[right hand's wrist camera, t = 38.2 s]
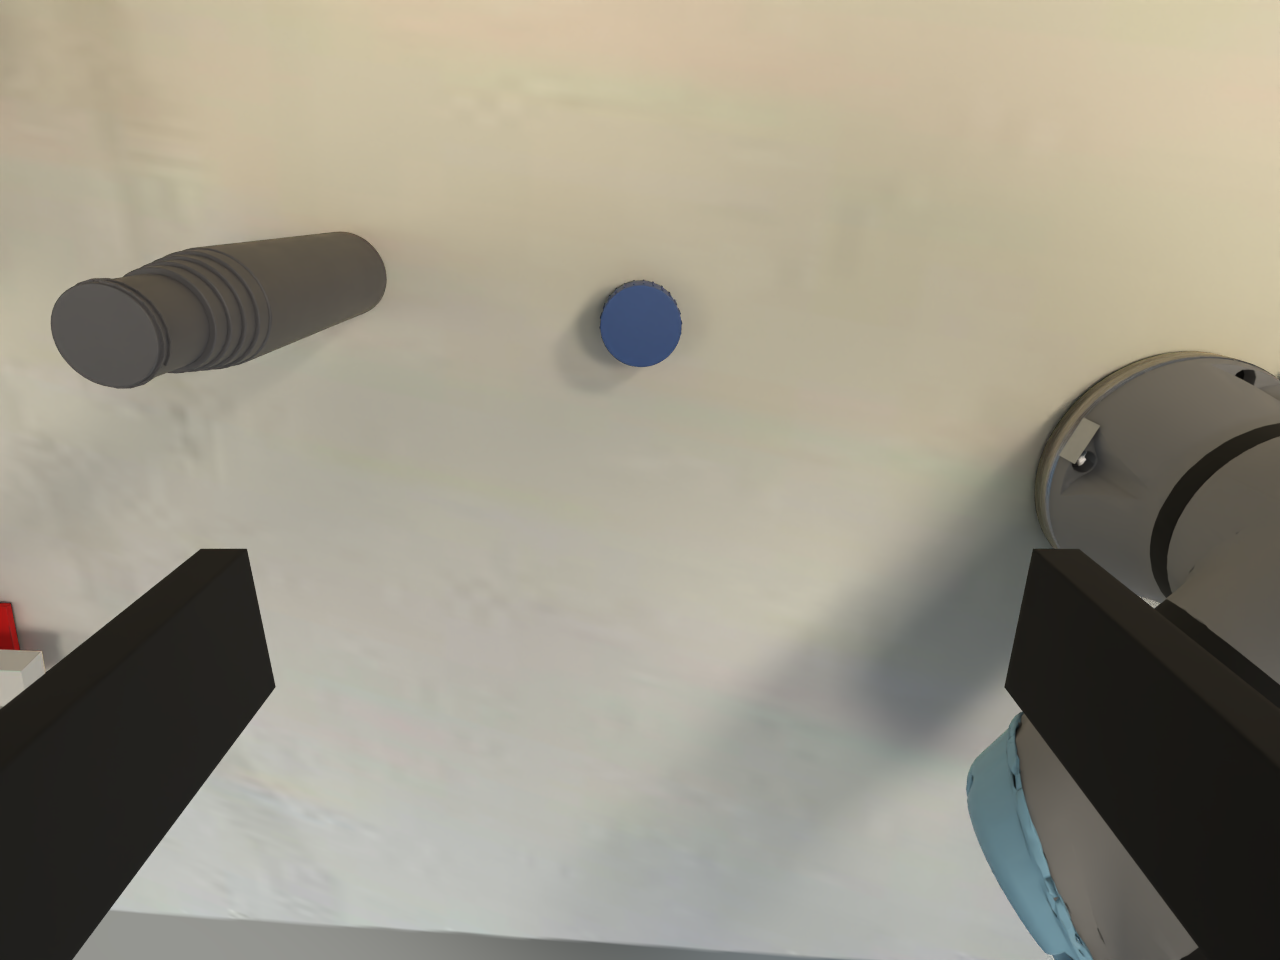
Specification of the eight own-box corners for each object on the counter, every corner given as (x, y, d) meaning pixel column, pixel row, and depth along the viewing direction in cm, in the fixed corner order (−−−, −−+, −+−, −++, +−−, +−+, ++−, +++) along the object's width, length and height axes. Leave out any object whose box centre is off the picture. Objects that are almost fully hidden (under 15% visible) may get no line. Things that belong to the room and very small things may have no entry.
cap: (690, 293, 43) (693, 299, 41) (665, 369, 44) (667, 378, 42) (614, 268, 42) (613, 272, 40) (592, 345, 44) (589, 353, 42)
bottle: (381, 323, 44) (176, 423, 24) (301, 303, 43) (29, 388, 24) (391, 244, 42) (182, 282, 23) (309, 222, 42) (25, 242, 22)
